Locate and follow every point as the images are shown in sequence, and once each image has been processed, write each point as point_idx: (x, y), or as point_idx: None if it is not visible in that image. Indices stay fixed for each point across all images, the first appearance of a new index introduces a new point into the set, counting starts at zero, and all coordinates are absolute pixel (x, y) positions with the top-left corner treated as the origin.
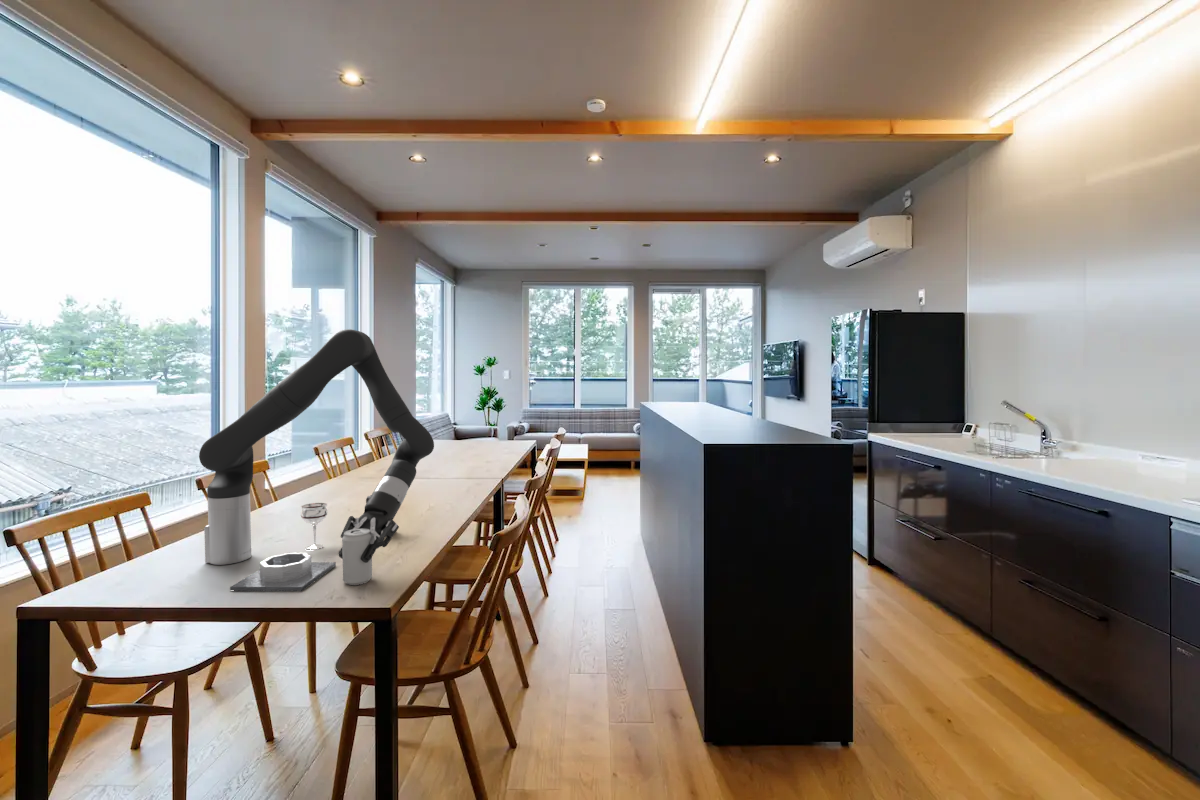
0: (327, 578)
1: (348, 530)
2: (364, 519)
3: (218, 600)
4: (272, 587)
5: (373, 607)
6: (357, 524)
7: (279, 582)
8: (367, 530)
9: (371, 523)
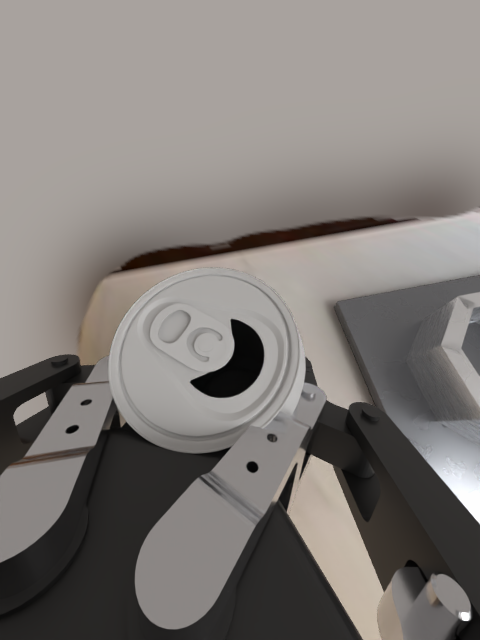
0: (345, 401)
1: (297, 362)
2: (188, 540)
3: (462, 239)
4: (410, 289)
5: (122, 273)
6: (281, 476)
7: (425, 313)
8: (136, 398)
9: (72, 451)
